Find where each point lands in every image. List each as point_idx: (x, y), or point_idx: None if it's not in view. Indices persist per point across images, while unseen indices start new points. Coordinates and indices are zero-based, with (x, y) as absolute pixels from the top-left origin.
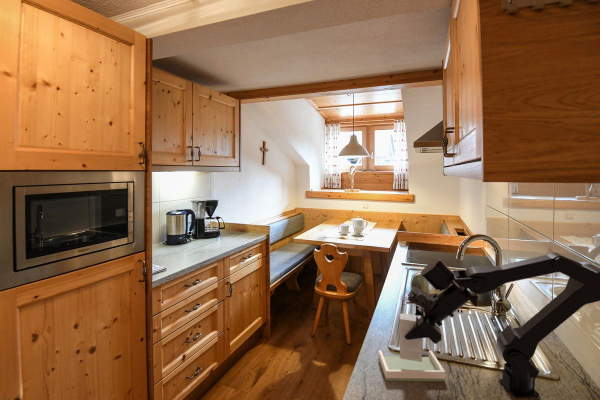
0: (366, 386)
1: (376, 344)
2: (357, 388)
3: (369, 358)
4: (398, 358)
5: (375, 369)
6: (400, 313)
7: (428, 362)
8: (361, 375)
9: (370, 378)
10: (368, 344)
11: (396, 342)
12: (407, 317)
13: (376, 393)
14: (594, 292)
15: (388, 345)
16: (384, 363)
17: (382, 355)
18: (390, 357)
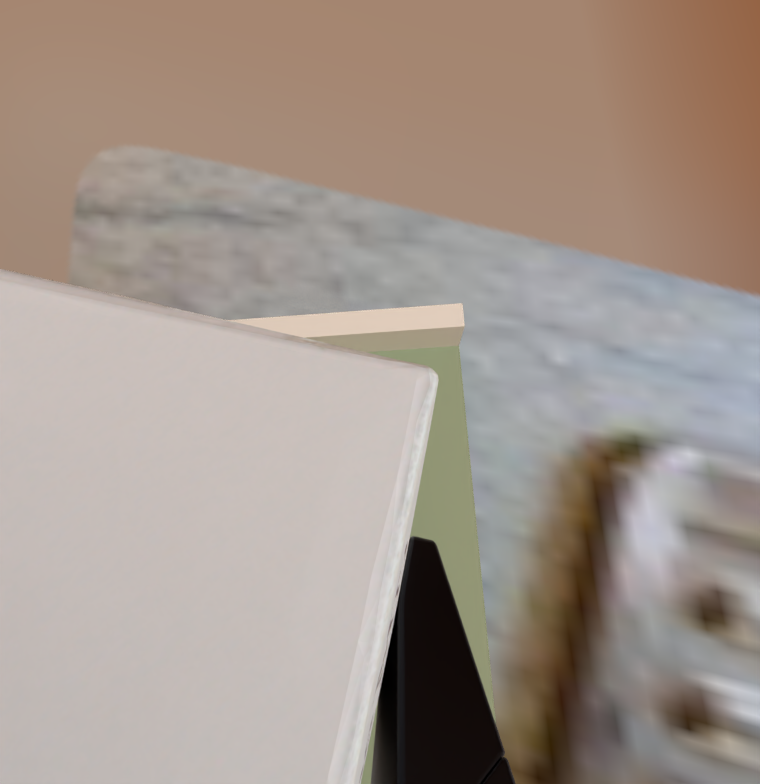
0: (143, 222)
1: (676, 341)
2: (127, 170)
3: (456, 266)
4: (446, 487)
5: (321, 295)
6: (414, 366)
7: None
8: (252, 199)
9: (221, 252)
10: (662, 276)
11: (753, 532)
12: (44, 564)
13: (77, 274)
14: None
15: (681, 445)
16: (265, 325)
17: (384, 325)
18: (452, 419)
